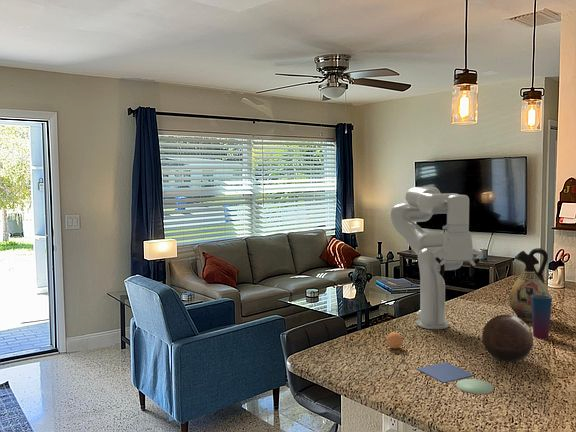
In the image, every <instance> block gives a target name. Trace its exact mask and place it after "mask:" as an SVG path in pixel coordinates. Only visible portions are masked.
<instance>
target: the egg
mask: <svg viewBox="0 0 576 432" xmlns="http://www.w3.org/2000/svg"><path fill="white" fill-rule="evenodd" d="M403 338H404V337H403V336H402V335H401V334H400V333H399V332H397V331H393V332H390V333H389V334H388V335H387V337H386V344H387V345H388V347H390V348H391V349H394V350H395V349H396V350H397V349H399V348H401V346H402V345H403V343H404V339H403Z"/></svg>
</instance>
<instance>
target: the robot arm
mask: <svg viewBox="0 0 576 432" xmlns="http://www.w3.org/2000/svg"><path fill="white" fill-rule="evenodd" d="M404 197H405V201H406V202H404V203H398V204H396V205H394V206H392V208H391V210H390V219H391V220H390V221H391V222H392V226H393V227H394V229H395V231H396V232H397V233H398V234H399V235H400V236H401V237H402V238H404V240H405V241H406V243H407V244H408V245H409V247H410V248H411V250H412V251H413V253H415V254H416V255H417V262H418V268H419V270H418V271H419V279H420V281H419V282H420V283H419V286H420V287H419V289H420V290H419V292H420V293H419V294H420V299H419V301H420V305H419V306H420V309H419V310H418V311H417V312H415V316H417V317H418V319H417V320H416V321H415V322H416V325H417V327H419V328H423V329H427V330H443V329H447V328H449V327H450V323H449V321H447V320H446V283H445V279H444V276H446V274H445V272H446V271H455V270H458V269H460V268H461V267H462V266H463V263H464V262H469V264H470V265H469V277H470V278H473V277H474V276H473V275H475V268H476V267H475V266H476V265H477V264H479V262H481V259H482V258H483V256H484V254H483V253H482V252H480V251H478V250H477V249H475V248H474V247H473V237H472V233H471V232H470V231H469V230H470V229H469V228H470V198H469V196H468V195H467V194H459V193H442V192H441V191H440V190H439V188H437V187H436V186H414V187H411V188H410V189H408V190H407V191H406V193H405V196H404ZM438 214H439V215H441V214H446V224H445V225H442V230H445V231H446V232H440V231H438V232H437V231H436V232H428V231H427V232H426V231H425V230H423V228H422V227H421V226H420V225H418V224H417V223H419V222H420V223H421V222H422V223H423V222H427V221H429V220H430V219H431V218H432V217H433V215H438ZM474 255H477V256H476V258H475V259H473V257H474Z"/></svg>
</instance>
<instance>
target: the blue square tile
mask: <svg viewBox="0 0 576 432" xmlns="http://www.w3.org/2000/svg"><path fill="white" fill-rule="evenodd" d="M416 370H417V371H419V372H421V373H423V374H425V375H427V376H429V377H431V378H433V379H435V380H437V381H439V382H441V383H443V384H445V383H449V382H453V381H459V380H463V379H467V378H470V377H474V376H475V374H474V373H471V372H469V371H467V370H465V369H462V368H461V367H458V366H455V365H454V364H451V363H449V362H447V361H445V362H440V363H436V364H431V365H427V366H423V367H422V366H421V367H418V368H416Z"/></svg>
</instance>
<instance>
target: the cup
mask: <svg viewBox="0 0 576 432" xmlns="http://www.w3.org/2000/svg"><path fill="white" fill-rule="evenodd" d="M531 300H532V320H533V322H532V336H533V338H537V339H549V335H550V334H549V333H550V323H551V310H552V301H553V297H552V296H551V295H550V296H548V295H539V294H536V295H532V296H531Z"/></svg>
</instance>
